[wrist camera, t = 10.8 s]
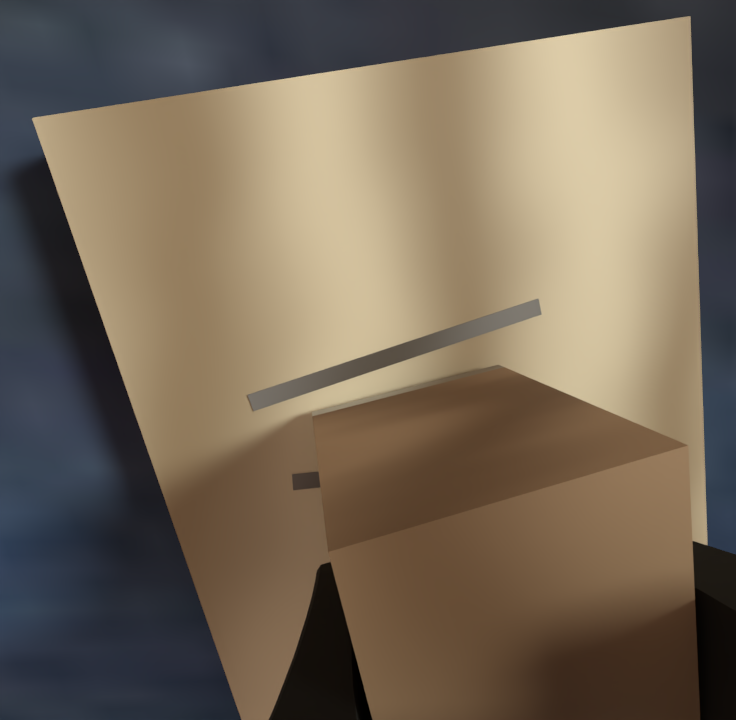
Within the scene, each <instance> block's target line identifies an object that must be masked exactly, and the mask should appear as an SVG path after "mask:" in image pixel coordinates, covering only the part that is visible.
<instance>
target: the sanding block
mask: <svg viewBox="0 0 736 720" xmlns="http://www.w3.org/2000/svg"><path fill="white" fill-rule="evenodd" d="M312 419H313V428H314V436H315V445H316V453H317V462H318V471H319V479H320V488H321V496H322V505H323V513H324V522H325V531H326V539H327V548H328V554H329V558H330V562H331V565H332V569H333V573H334V577H335V580H336V584H337V588H338V592H339V595H340V599H341V603H342V607H343V611H344V614H345V618H346V622H347V626H348V629H349V633H350V637H351V641H352V645H353V648H354V652H355V656H356V660H357V663H358V667H359V671H360V675H361V679H362V682H363V686H364V690H365V694H366V697H367V701H368V705H369V709H370V713H371V716H372V720H700V701H699V678H698V655H697V633H696V610H695V587H694V564H693V541H692V519H691V496H690V473H689V450H688V445H686V444H684V443H681V442H679V441H677V440H674V439H672V438H670V437H667V436H665V435H663V434H660V433H658V432H656V431H653V430H651V429H649V428H646V427H644V426H642V425H639V424H637V423H634V422H632V421H630V420H627V419H625V418H623V417H620V416H618V415H616V414H613V413H611V412H609V411H606V410H604V409H602V408H599V407H597V406H595V405H592V404H590V403H588V402H585V401H583V400H580V399H578V398H576V397H573V396H571V395H569V394H566V393H564V392H562V391H559V390H557V389H555V388H552V387H550V386H548V385H545V384H543V383H541V382H538V381H536V380H533V379H531V378H529V377H526V376H524V375H522V374H519V373H517V372H515V371H512V370H510V369H508V368H505V367H503V366H501V365H495V366H491V367H487V368H483V369H479V370H475V371H471V372H467V373H463V374H459V375H455V376H451V377H447V378H444V379H440V380H436V381H432V382H428V383H424V384H420V385H416V386H412V387H408V388H404V389H400V390H396V391H393V392H389V393H385V394H381V395H377V396H373V397H369V398H365V399H361V400H357V401H353V402H349V403H345V404H341V405H338V406H334V407H330V408H326V409H322V410H318V411H314V412H312Z"/></svg>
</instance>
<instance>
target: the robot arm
mask: <svg viewBox="0 0 736 720" xmlns="http://www.w3.org/2000/svg"><path fill="white" fill-rule="evenodd" d="M693 564H694V587H695V610H696V633H697V655H698V678H699V701H700V720H736V555H735V554H732V553H729V552H725V551H722V550H719V549H716V548H713V547H710V546H707V545H704V544H701V543H698V542H695V541H693ZM269 720H372V716H371V713H370V709H369V705H368V701H367V697H366V694H365V690H364V686H363V682H362V679H361V675H360V671H359V667H358V663H357V660H356V656H355V652H354V648H353V645H352V641H351V637H350V633H349V629H348V626H347V622H346V618H345V614H344V611H343V607H342V603H341V599H340V595H339V592H338V588H337V584H336V580H335V577H334V573H333V569H332V565H331V562H328V563H325V564H322V565H320V567H319V568H318V570H317V572H316V579H315V584H314V589H313V593H312V597H311V601H310V605H309V608H308V612H307V616H306V619H305V622H304V625H303V629H302V632H301V635H300V638H299V641H298V644H297V648H296V651H295V654H294V656H293V659H292V662H291V665H290V667H289V670H288V672H287V675H286V678H285V680H284V683H283V686H282V688H281V691H280V694H279V696H278V699H277V701H276V704H275V706H274V709H273V711H272V713H271V716H270V718H269Z"/></svg>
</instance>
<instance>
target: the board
mask: <svg viewBox="0 0 736 720" xmlns="http://www.w3.org/2000/svg"><path fill="white" fill-rule="evenodd" d="M32 120H33V122H34V125H35V128H36V131H37V134H38V137H39V140H40V142H41V145H42V148H43V151H44V154H45V157H46V160H47V163H48V165H49V168H50V171H51V174H52V177H53V180H54V183H55V186H56V188H57V191H58V194H59V197H60V200H61V203H62V206H63V209H64V211H65V214H66V217H67V220H68V223H69V226H70V229H71V232H72V234H73V237H74V240H75V243H76V246H77V249H78V252H79V255H80V257H81V260H82V263H83V266H84V269H85V272H86V275H87V278H88V280H89V283H90V286H91V289H92V292H93V295H94V298H95V301H96V303H97V306H98V309H99V312H100V315H101V318H102V321H103V324H104V326H105V329H106V332H107V335H108V338H109V341H110V344H111V347H112V349H113V352H114V355H115V358H116V361H117V364H118V367H119V369H120V372H121V375H122V378H123V381H124V384H125V387H126V390H127V392H128V395H129V398H130V401H131V404H132V407H133V410H134V413H135V415H136V418H137V421H138V424H139V427H140V430H141V433H142V436H143V438H144V441H145V444H146V447H147V450H148V453H149V456H150V459H151V461H152V464H153V467H154V470H155V473H156V476H157V479H158V482H159V484H160V487H161V490H162V493H163V496H164V499H165V502H166V505H167V507H168V510H169V513H170V516H171V519H172V522H173V525H174V528H175V530H176V533H177V536H178V539H179V542H180V545H181V548H182V551H183V553H184V556H185V559H186V562H187V565H188V568H189V571H190V573H191V576H192V579H193V582H194V585H195V588H196V591H197V594H198V596H199V599H200V602H201V605H202V608H203V611H204V614H205V617H206V619H207V622H208V625H209V628H210V631H211V634H212V637H213V640H214V642H215V645H216V648H217V651H218V654H219V657H220V660H221V663H222V665H223V668H224V671H225V674H226V677H227V680H228V683H229V686H230V688H231V691H232V694H233V697H234V700H235V703H236V706H237V709H238V711H239V714H240V717H241V720H269V718H270V716H271V713H272V711H273V709H274V706H275V704H276V701H277V699H278V696H279V694H280V691H281V688H282V686H283V683H284V680H285V678H286V675H287V672H288V670H289V667H290V665H291V662H292V659H293V656H294V654H295V651H296V648H297V644H298V641H299V638H300V635H301V632H302V629H303V625H304V622H305V619H306V616H307V612H308V608H309V605H310V601H311V597H312V593H313V589H314V584H315V579H316V572H317V570H318V568H319V567H320V565H322V564H325V563H328V562H330V558H329V554H328V548H327V539H326V531H325V522H324V513H323V505H322V496H321V488H320V479H319V471H318V462H317V453H316V445H315V436H314V428H313V419H312V412H314V411H318V410H322V409H326V408H330V407H334V406H338V405H341V404H345V403H349V402H353V401H357V400H361V399H365V398H369V397H373V396H377V395H381V394H385V393H389V392H393V391H396V390H400V389H404V388H408V387H412V386H416V385H420V384H424V383H428V382H432V381H436V380H440V379H444V378H447V377H451V376H455V375H459V374H463V373H467V372H471V371H475V370H479V369H483V368H487V367H491V366H495V365H501V366H503V367H505V368H508V369H510V370H512V371H515V372H517V373H519V374H522V375H524V376H526V377H529V378H531V379H533V380H536V381H538V382H541V383H543V384H545V385H548V386H550V387H552V388H555V389H557V390H559V391H562V392H564V393H566V394H569V395H571V396H573V397H576V398H578V399H580V400H583V401H585V402H588V403H590V404H592V405H595V406H597V407H599V408H602V409H604V410H606V411H609V412H611V413H613V414H616V415H618V416H620V417H623V418H625V419H627V420H630V421H632V422H634V423H637V424H639V425H642V426H644V427H646V428H649V429H651V430H653V431H656V432H658V433H660V434H663V435H665V436H667V437H670V438H672V439H674V440H677V441H679V442H681V443H684V444H686V445H688V450H689V473H690V496H691V519H692V541H695V542H698V543H701V544H704V545H707V517H706V486H705V455H704V425H703V394H702V363H701V332H700V301H699V270H698V239H697V208H696V177H695V146H694V115H693V84H692V53H691V22H690V16H688V17H682V18H675V19H669V20H662V21H656V22H649V23H643V24H636V25H630V26H623V27H617V28H610V29H604V30H598V31H591V32H585V33H578V34H572V35H565V36H559V37H552V38H546V39H539V40H533V41H527V42H520V43H514V44H507V45H501V46H494V47H488V48H481V49H475V50H468V51H462V52H455V53H449V54H443V55H436V56H430V57H423V58H417V59H410V60H404V61H397V62H391V63H384V64H378V65H372V66H365V67H359V68H352V69H346V70H339V71H333V72H326V73H320V74H313V75H307V76H300V77H294V78H288V79H281V80H275V81H268V82H262V83H255V84H249V85H242V86H236V87H229V88H223V89H217V90H210V91H204V92H197V93H191V94H184V95H178V96H171V97H165V98H158V99H152V100H145V101H139V102H133V103H126V104H120V105H113V106H107V107H100V108H94V109H87V110H81V111H74V112H68V113H62V114H55V115H49V116H42V117H36V118H32Z"/></svg>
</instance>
